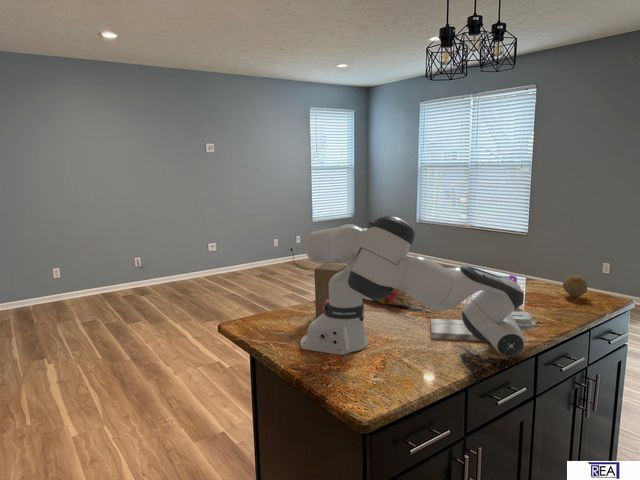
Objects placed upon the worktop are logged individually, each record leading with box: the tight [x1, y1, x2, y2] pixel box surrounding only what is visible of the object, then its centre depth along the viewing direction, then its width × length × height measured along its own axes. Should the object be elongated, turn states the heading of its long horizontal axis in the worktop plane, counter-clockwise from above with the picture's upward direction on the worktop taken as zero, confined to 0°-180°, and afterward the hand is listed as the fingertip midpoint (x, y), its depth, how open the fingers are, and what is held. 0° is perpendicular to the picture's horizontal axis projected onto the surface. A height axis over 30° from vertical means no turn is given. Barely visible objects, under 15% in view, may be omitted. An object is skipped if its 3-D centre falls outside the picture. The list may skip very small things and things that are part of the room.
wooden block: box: [313, 263, 347, 319], centre depth 176 cm, size 10×10×20 cm
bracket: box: [504, 274, 518, 284], centre depth 209 cm, size 13×6×7 cm, turn 31°
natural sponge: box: [562, 274, 588, 299], centre depth 192 cm, size 9×9×10 cm
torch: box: [377, 289, 415, 307], centre depth 192 cm, size 8×8×25 cm
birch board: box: [430, 318, 482, 342], centre depth 157 cm, size 24×14×2 cm, turn 78°
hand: (493, 310), depth 149 cm, fingers closed on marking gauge, 3 cm apart
